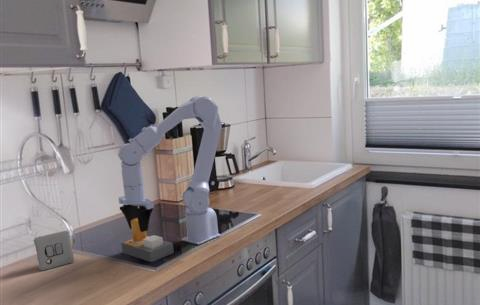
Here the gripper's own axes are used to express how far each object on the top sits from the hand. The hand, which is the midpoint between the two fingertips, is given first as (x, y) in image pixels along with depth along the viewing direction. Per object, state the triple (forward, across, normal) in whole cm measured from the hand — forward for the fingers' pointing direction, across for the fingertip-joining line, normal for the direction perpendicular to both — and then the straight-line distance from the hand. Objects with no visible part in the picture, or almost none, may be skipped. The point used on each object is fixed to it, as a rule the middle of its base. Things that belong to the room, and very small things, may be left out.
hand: (138, 229), depth 134 cm
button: (+5, +6, 0) cm, 8 cm away
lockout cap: (+3, 0, 0) cm, 3 cm away
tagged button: (+6, 0, 0) cm, 6 cm away
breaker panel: (+7, +3, 0) cm, 7 cm away
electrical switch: (+7, -14, -20) cm, 25 cm away
